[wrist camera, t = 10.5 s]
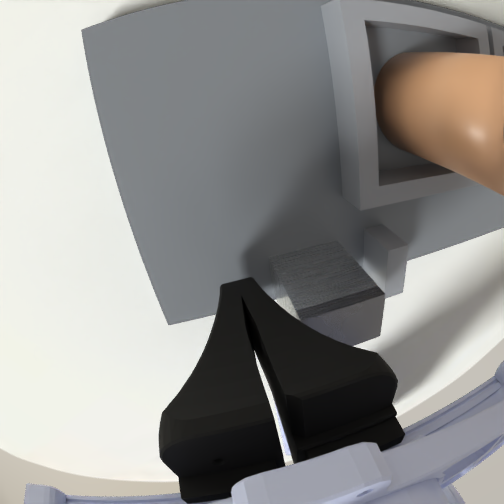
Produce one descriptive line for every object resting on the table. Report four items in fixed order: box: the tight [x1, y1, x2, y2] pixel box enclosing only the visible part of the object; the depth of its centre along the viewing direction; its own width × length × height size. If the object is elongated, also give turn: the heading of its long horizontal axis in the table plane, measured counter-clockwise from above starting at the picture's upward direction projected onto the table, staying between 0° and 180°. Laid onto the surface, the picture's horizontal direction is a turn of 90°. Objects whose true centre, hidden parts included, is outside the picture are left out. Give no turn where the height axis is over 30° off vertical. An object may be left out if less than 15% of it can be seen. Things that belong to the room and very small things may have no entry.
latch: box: [269, 240, 385, 346], centre depth 12 cm, size 2×3×4 cm, turn 99°
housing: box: [81, 0, 504, 325], centre depth 11 cm, size 12×24×3 cm, turn 99°
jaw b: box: [374, 52, 504, 196], centre depth 8 cm, size 4×4×6 cm
